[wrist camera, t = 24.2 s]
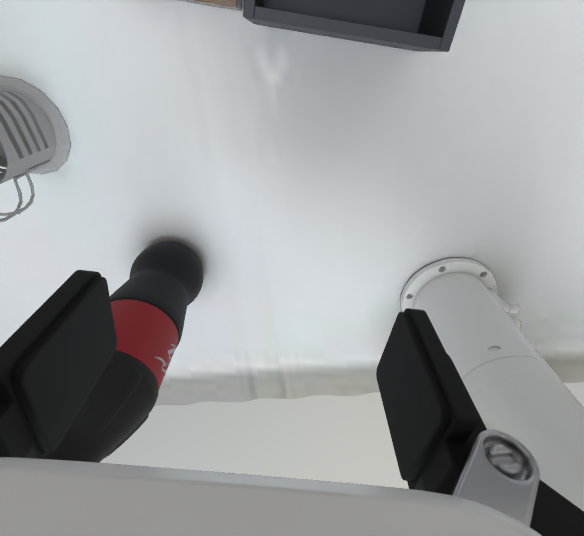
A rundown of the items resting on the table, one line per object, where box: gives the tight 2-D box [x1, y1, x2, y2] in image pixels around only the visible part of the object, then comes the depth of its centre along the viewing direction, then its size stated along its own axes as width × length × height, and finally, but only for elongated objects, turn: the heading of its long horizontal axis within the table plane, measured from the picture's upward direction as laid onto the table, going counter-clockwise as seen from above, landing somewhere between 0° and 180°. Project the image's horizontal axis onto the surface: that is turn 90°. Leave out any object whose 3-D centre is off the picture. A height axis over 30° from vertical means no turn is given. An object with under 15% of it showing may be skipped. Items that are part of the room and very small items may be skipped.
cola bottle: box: [45, 242, 203, 463], centre depth 33 cm, size 8×8×30 cm
